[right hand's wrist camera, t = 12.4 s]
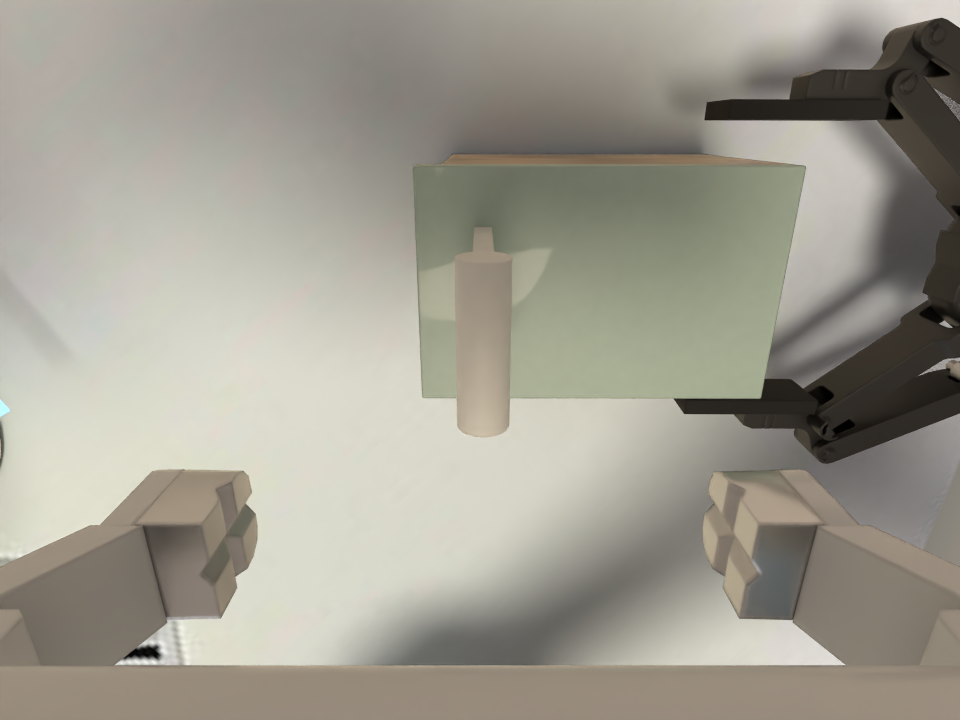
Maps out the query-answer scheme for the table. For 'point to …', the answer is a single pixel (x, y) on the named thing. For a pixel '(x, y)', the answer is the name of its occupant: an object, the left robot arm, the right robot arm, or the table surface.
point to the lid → (598, 281)
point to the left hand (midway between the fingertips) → (694, 265)
